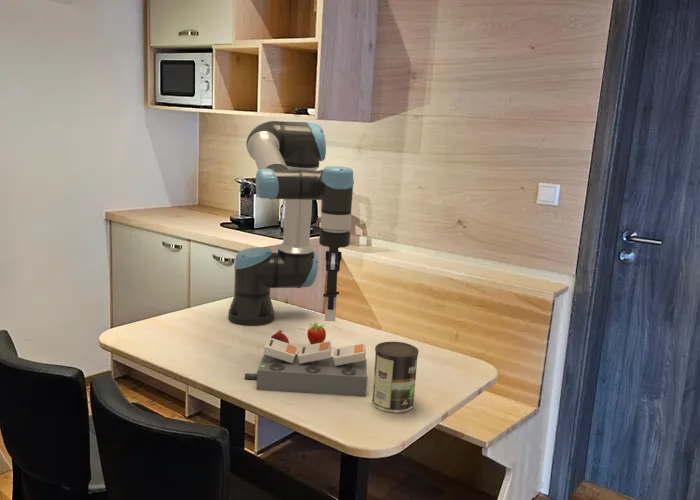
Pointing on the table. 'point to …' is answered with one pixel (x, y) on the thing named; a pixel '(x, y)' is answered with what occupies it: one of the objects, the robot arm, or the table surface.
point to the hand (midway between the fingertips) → (329, 320)
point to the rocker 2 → (314, 352)
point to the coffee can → (394, 376)
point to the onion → (280, 336)
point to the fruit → (316, 334)
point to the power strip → (311, 376)
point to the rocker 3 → (349, 354)
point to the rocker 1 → (280, 350)
